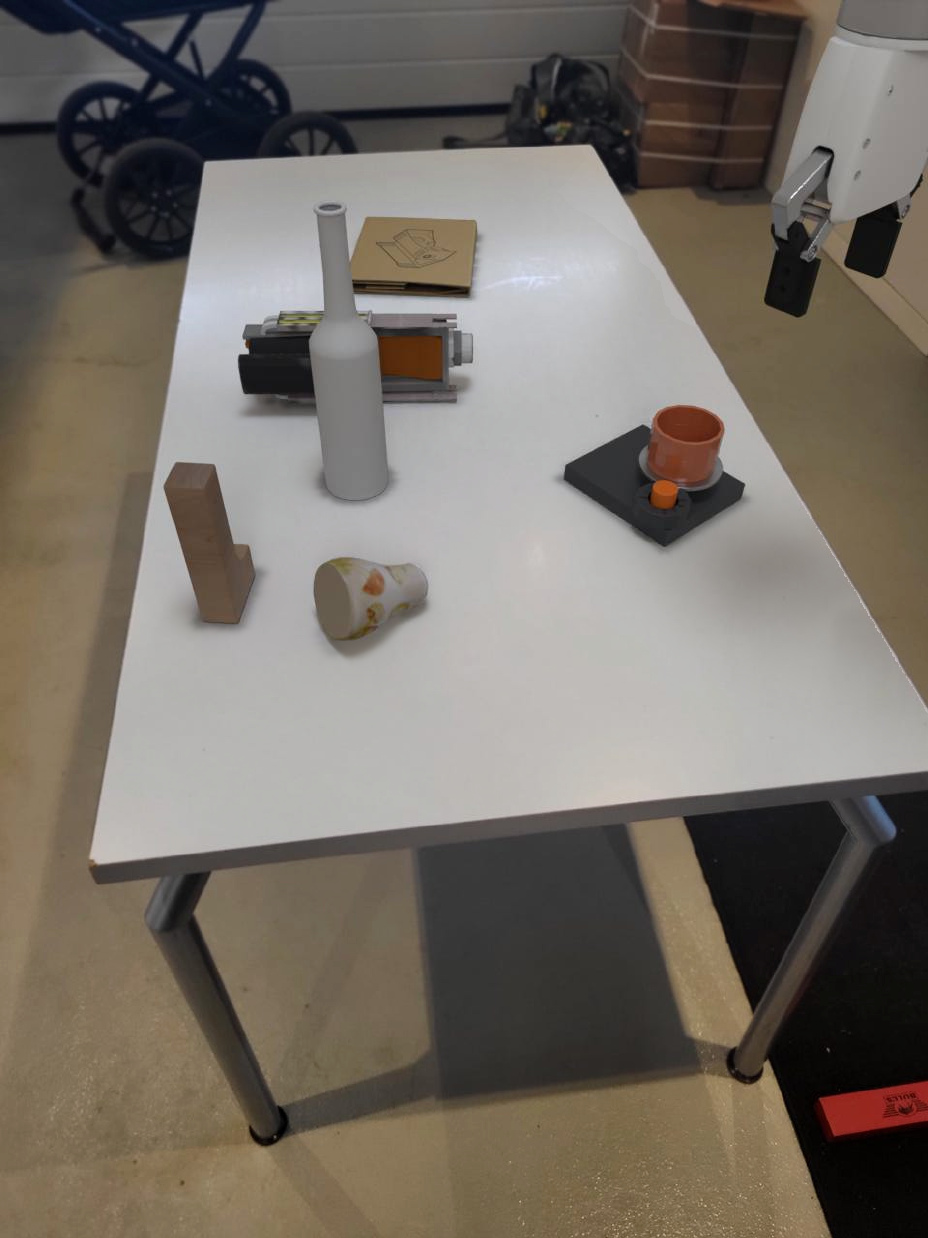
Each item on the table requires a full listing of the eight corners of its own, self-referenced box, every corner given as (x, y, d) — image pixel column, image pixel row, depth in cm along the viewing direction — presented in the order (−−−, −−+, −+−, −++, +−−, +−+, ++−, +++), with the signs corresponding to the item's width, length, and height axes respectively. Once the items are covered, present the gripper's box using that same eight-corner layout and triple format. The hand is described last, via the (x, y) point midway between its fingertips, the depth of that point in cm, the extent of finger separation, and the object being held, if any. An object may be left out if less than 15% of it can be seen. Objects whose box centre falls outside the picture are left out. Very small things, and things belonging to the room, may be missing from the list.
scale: (742, 499, 91) (751, 471, 88) (659, 551, 85) (665, 523, 83) (640, 438, 98) (645, 411, 96) (557, 482, 93) (560, 454, 90)
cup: (728, 465, 89) (738, 426, 85) (684, 491, 85) (693, 452, 82) (676, 435, 92) (684, 397, 89) (632, 459, 89) (638, 421, 86)
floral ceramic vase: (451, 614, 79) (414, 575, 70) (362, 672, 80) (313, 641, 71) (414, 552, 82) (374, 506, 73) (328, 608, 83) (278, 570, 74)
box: (470, 298, 122) (470, 282, 120) (344, 293, 122) (343, 277, 121) (478, 234, 137) (479, 218, 135) (366, 230, 137) (365, 215, 136)
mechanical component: (473, 418, 101) (474, 337, 94) (247, 419, 100) (232, 338, 93) (471, 375, 107) (472, 296, 100) (259, 375, 107) (245, 296, 100)
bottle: (374, 505, 90) (351, 225, 70) (315, 493, 91) (275, 215, 71) (397, 468, 94) (382, 195, 74) (340, 457, 95) (310, 186, 75)
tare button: (680, 503, 85) (683, 488, 84) (663, 512, 84) (666, 498, 83) (661, 491, 87) (664, 476, 85) (644, 500, 86) (647, 486, 84)
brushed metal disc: (739, 469, 89) (740, 466, 88) (684, 502, 85) (685, 499, 85) (675, 432, 93) (676, 429, 93) (620, 462, 89) (621, 459, 89)
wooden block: (238, 624, 78) (203, 488, 67) (201, 622, 78) (161, 485, 67) (256, 574, 82) (226, 438, 72) (221, 571, 83) (187, 436, 72)
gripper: (926, -20, 58) (848, 243, 70) (763, 18, 50) (706, 307, 62) (1040, -3, 54) (936, 274, 66) (882, 41, 46) (796, 346, 58)
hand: (824, 290), depth 64 cm, fingers open, 9 cm apart
